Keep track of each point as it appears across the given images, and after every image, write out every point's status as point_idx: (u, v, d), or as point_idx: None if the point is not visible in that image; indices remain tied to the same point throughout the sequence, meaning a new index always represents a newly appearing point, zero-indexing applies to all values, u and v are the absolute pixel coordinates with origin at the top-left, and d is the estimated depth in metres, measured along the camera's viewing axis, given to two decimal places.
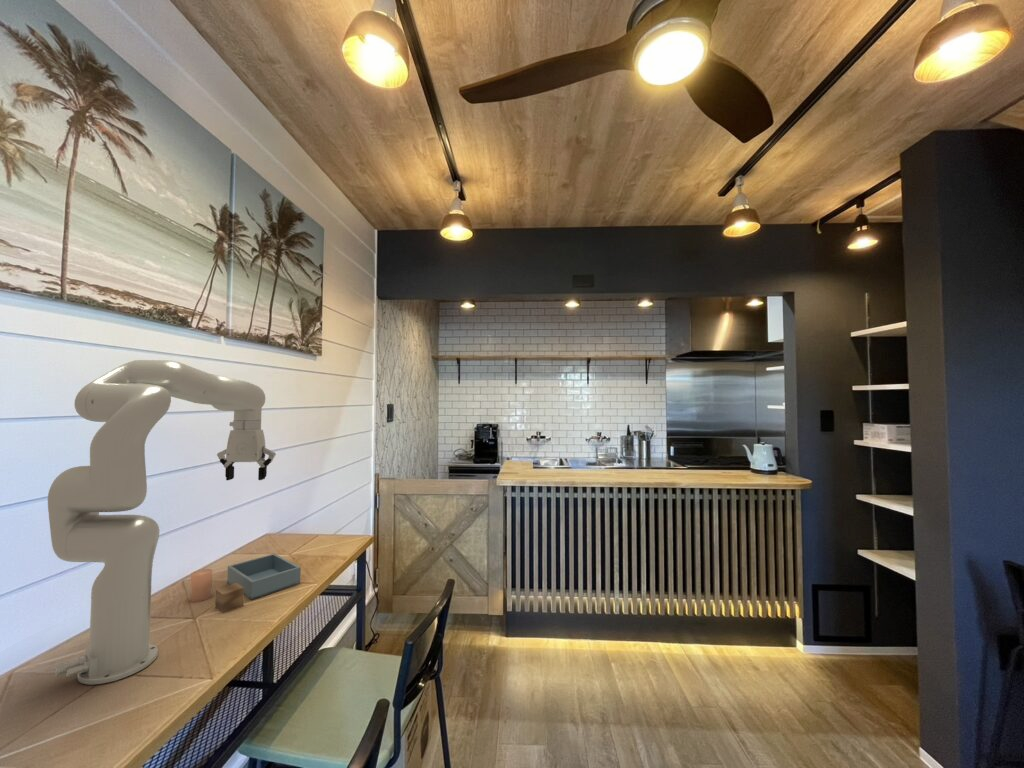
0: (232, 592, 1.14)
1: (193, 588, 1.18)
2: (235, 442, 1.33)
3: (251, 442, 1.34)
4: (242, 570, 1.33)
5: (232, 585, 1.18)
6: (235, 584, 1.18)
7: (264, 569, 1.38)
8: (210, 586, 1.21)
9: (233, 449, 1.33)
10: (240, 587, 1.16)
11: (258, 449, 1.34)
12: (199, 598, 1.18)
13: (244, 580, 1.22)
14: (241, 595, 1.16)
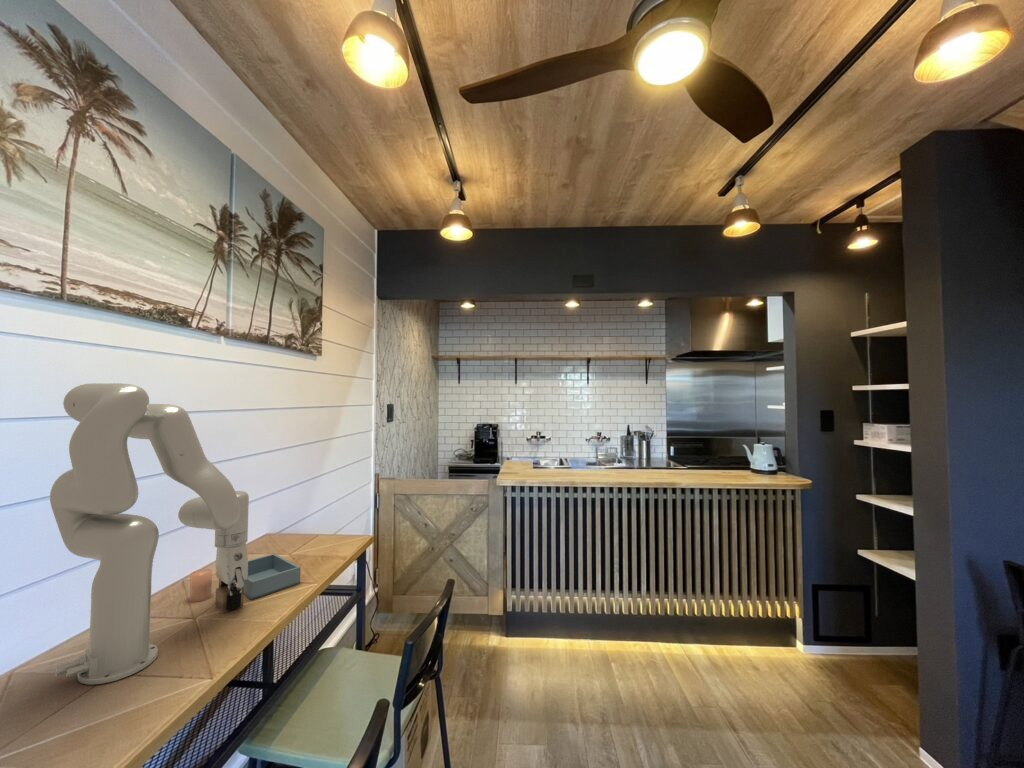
0: None
1: (193, 588, 1.18)
2: None
3: None
4: None
5: None
6: None
7: (264, 569, 1.38)
8: (210, 586, 1.21)
9: None
10: None
11: None
12: (198, 598, 1.18)
13: (244, 580, 1.22)
14: (241, 595, 1.16)
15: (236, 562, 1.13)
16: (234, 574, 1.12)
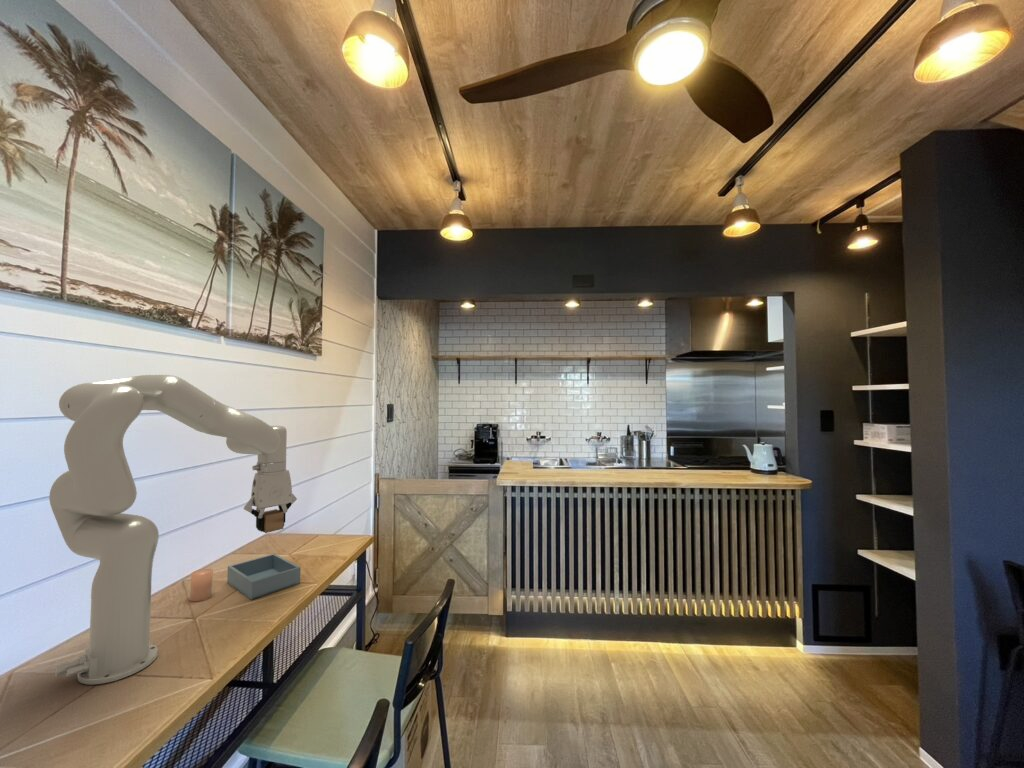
0: None
1: (193, 587, 1.18)
2: (268, 486, 1.24)
3: (285, 483, 1.28)
4: (242, 570, 1.33)
5: (279, 511, 1.28)
6: (280, 512, 1.28)
7: (264, 569, 1.38)
8: (210, 586, 1.21)
9: (266, 494, 1.24)
10: (268, 514, 1.25)
11: (291, 489, 1.30)
12: (198, 598, 1.18)
13: (244, 580, 1.22)
14: (265, 521, 1.24)
15: (253, 487, 1.24)
16: None
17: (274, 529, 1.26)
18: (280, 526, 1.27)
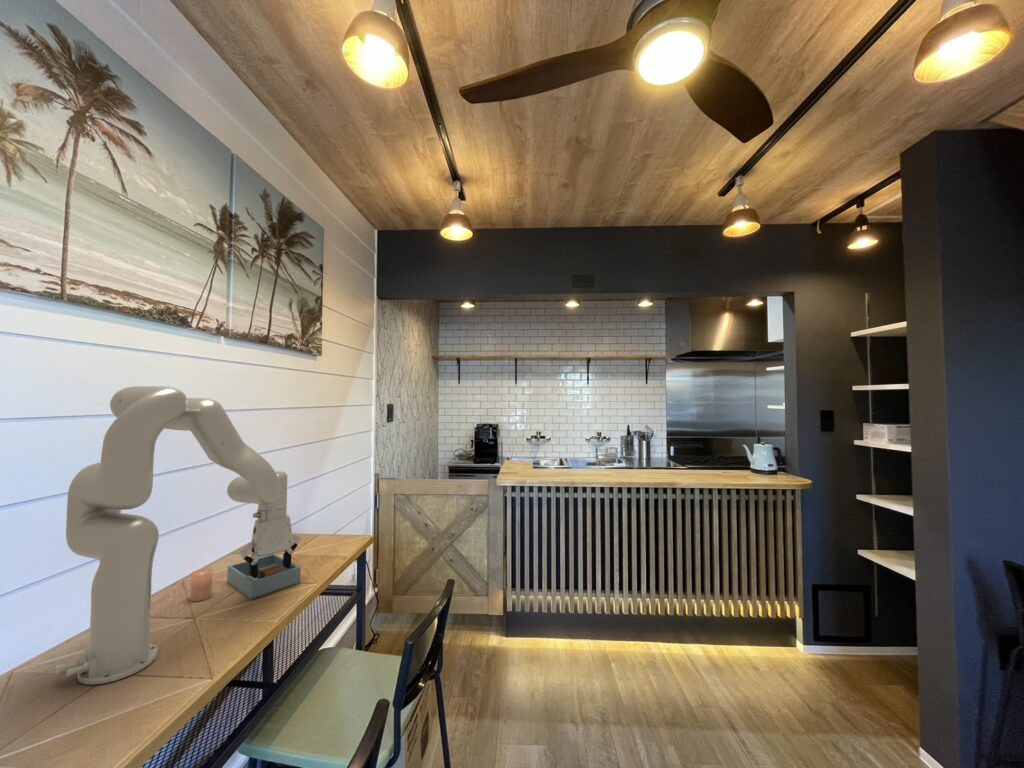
0: (261, 572, 1.26)
1: (192, 587, 1.18)
2: (268, 534, 1.24)
3: (285, 530, 1.28)
4: (242, 570, 1.33)
5: (278, 567, 1.28)
6: (279, 568, 1.28)
7: None
8: (209, 586, 1.21)
9: (266, 542, 1.24)
10: (268, 572, 1.25)
11: (291, 535, 1.30)
12: (197, 598, 1.18)
13: (244, 580, 1.22)
14: None
15: (253, 535, 1.24)
16: None
17: None
18: None
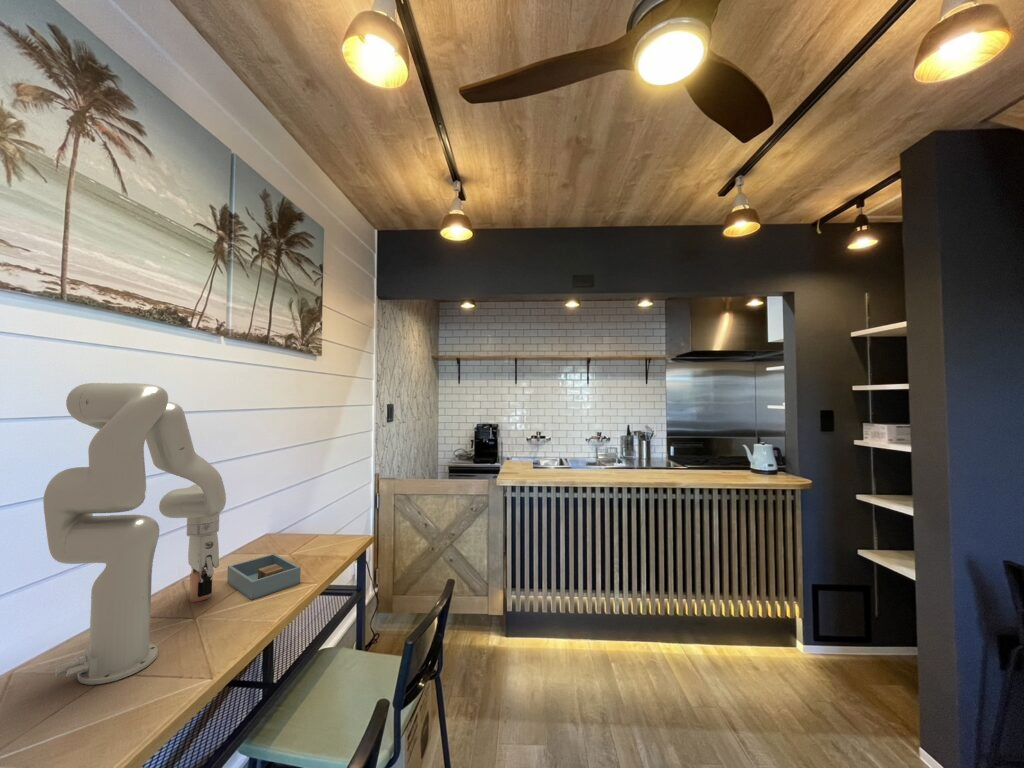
0: (261, 572, 1.26)
1: (191, 588, 1.18)
2: None
3: None
4: (242, 570, 1.33)
5: (278, 567, 1.28)
6: (279, 568, 1.28)
7: None
8: None
9: None
10: (268, 572, 1.25)
11: None
12: (196, 598, 1.18)
13: (244, 580, 1.22)
14: None
15: (207, 550, 1.18)
16: (205, 562, 1.17)
17: None
18: None
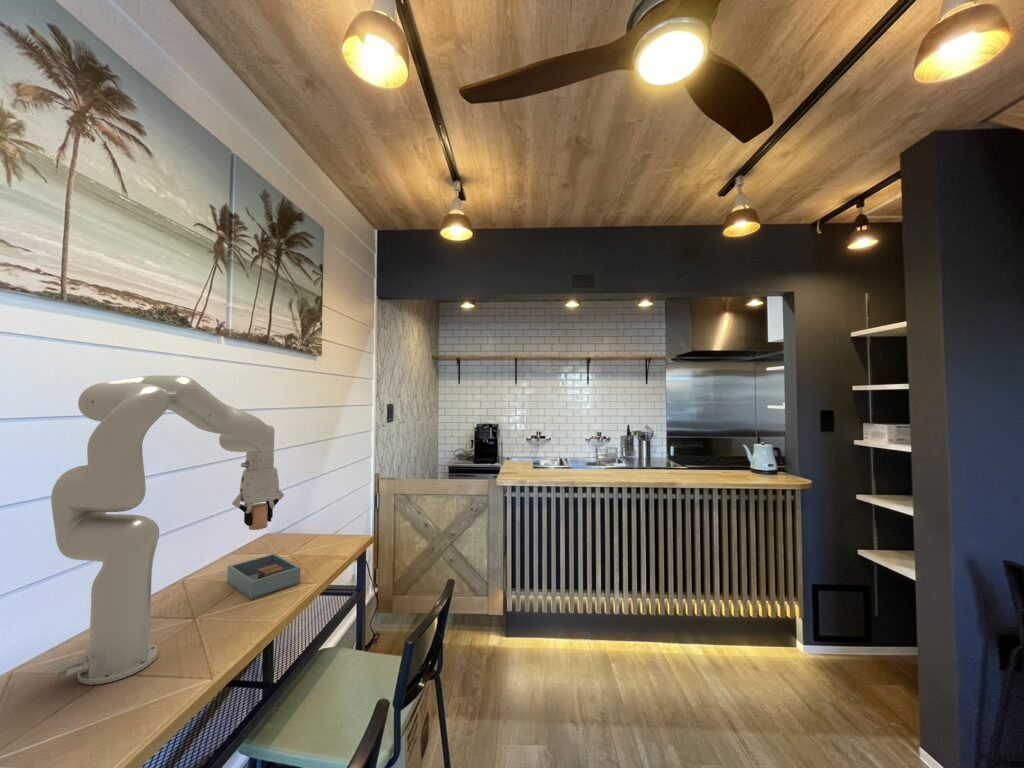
0: (261, 572, 1.26)
1: None
2: (256, 483, 1.30)
3: (272, 480, 1.34)
4: (242, 570, 1.33)
5: (278, 567, 1.28)
6: (279, 568, 1.28)
7: None
8: (252, 520, 1.31)
9: (254, 490, 1.30)
10: (268, 572, 1.25)
11: (278, 486, 1.36)
12: None
13: (244, 580, 1.22)
14: None
15: (241, 483, 1.30)
16: (240, 493, 1.30)
17: None
18: None
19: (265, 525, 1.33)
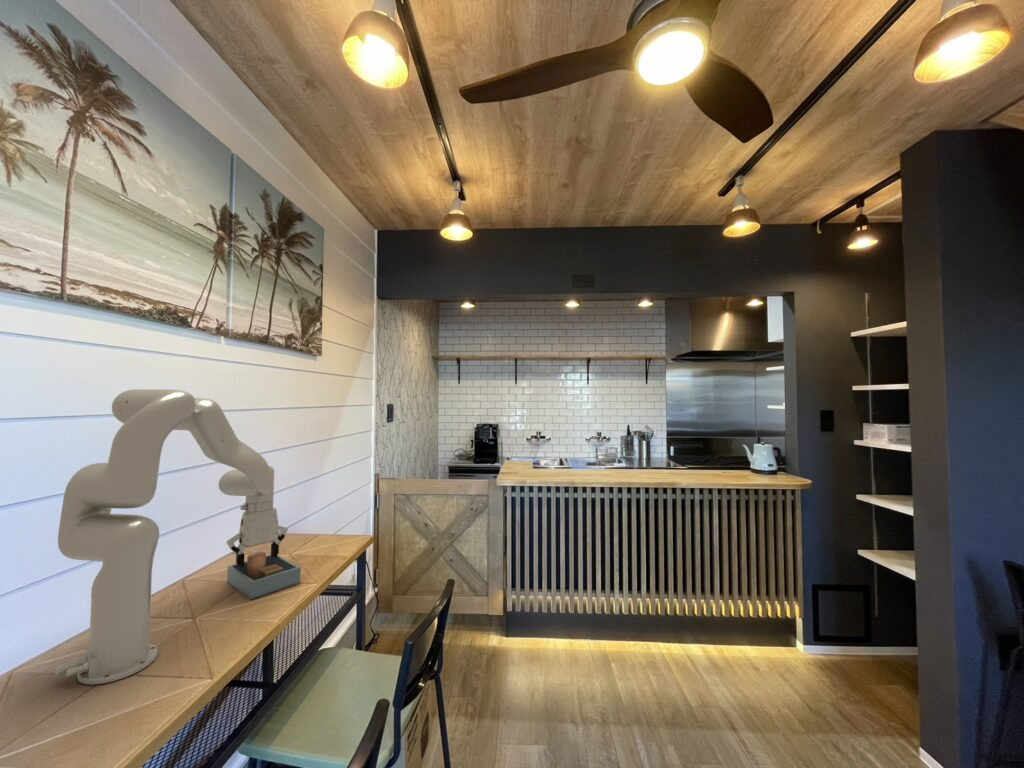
0: (261, 572, 1.26)
1: None
2: (255, 525, 1.30)
3: (272, 522, 1.34)
4: (242, 570, 1.33)
5: (278, 567, 1.28)
6: (279, 568, 1.28)
7: None
8: (250, 571, 1.30)
9: (253, 533, 1.29)
10: (268, 572, 1.25)
11: (278, 527, 1.35)
12: None
13: (244, 580, 1.22)
14: None
15: (241, 526, 1.30)
16: None
17: None
18: None
19: None
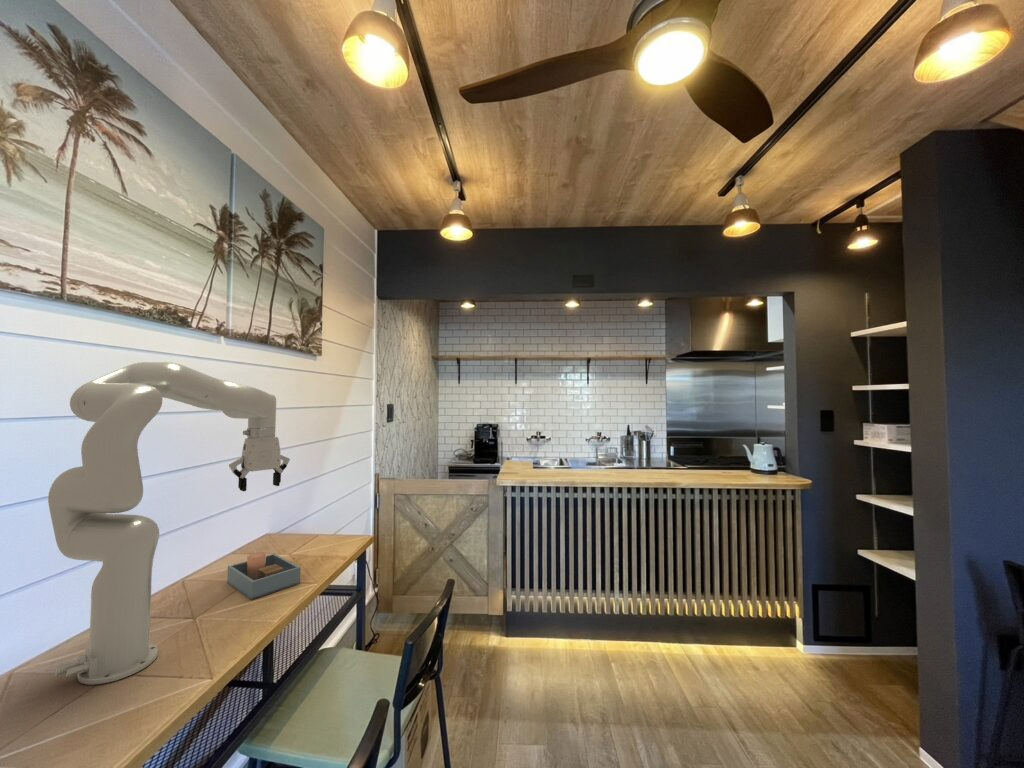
0: (261, 572, 1.26)
1: None
2: (257, 450, 1.31)
3: (274, 449, 1.34)
4: (242, 570, 1.33)
5: (278, 567, 1.28)
6: (279, 568, 1.28)
7: None
8: (250, 571, 1.30)
9: (255, 458, 1.30)
10: (268, 572, 1.25)
11: (280, 455, 1.36)
12: None
13: (244, 580, 1.22)
14: None
15: (243, 451, 1.30)
16: None
17: None
18: None
19: None
